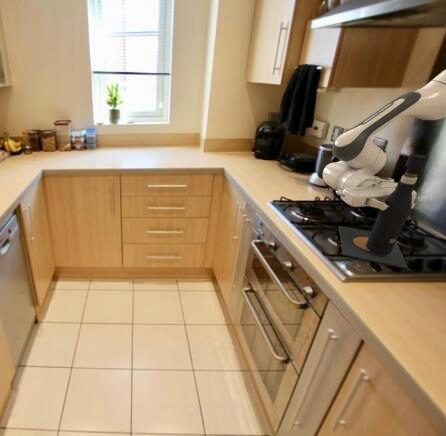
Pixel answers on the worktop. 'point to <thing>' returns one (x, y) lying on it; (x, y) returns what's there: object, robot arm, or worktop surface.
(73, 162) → the worktop surface
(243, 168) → the worktop surface
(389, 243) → the wine bottle
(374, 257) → the centre mat
